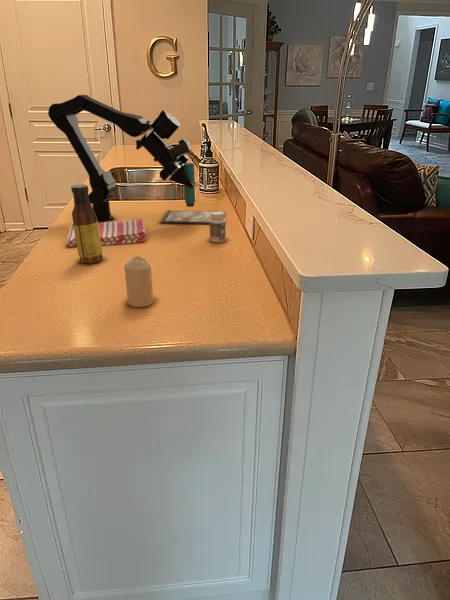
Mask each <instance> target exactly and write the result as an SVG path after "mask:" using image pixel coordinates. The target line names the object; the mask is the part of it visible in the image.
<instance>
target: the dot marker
mask: <svg viewBox="0 0 450 600" xmlns="http://www.w3.org/2000/svg"><path fill="white" fill-rule="evenodd" d="M184 173H185V174H186V175H187V177H188V178H189V180H190V181H191V182H192V184H193V185H194V186H193V187H192V188H190V187H187V186H185V185H184V201H185V205H186V207H188V208H193V207H195V203H196V186H195V185H196V184H195V183H196V181H195V179H196V178H195V162H188V163H184Z"/></svg>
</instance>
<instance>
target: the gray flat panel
mask: <svg viewBox="0 0 450 600" xmlns="http://www.w3.org/2000/svg"><path fill="white" fill-rule="evenodd" d="M217 211H219V212H224V211H223V210H221V211H220V210H170V209H169V210H167V212H166V213H165V215H164V216H163V218H161V220H160V224H164V225H165V224H167V225H168V224H169V225H171V224H172V225H210V219H212V218H211V213H212V212H217Z"/></svg>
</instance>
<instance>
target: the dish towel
mask: <svg viewBox="0 0 450 600" xmlns="http://www.w3.org/2000/svg"><path fill="white" fill-rule="evenodd" d="M98 226H99V233H100V239H101V246H106V245H107V246H110V245H122V244H123V245H125V244H137V243H144V240H146V238H147V235H148V234H147V232H146V227H145V224H144V220H143V218H140V219H132V220H124V221H109V222H107V221H105V222H98ZM65 244H66V246H67V247H69V248H72V247H77V244H76V238H75V232H74V227H73V223H72V224H71V225H70V228H69V231H68V233H67V237H66V243H65Z"/></svg>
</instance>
